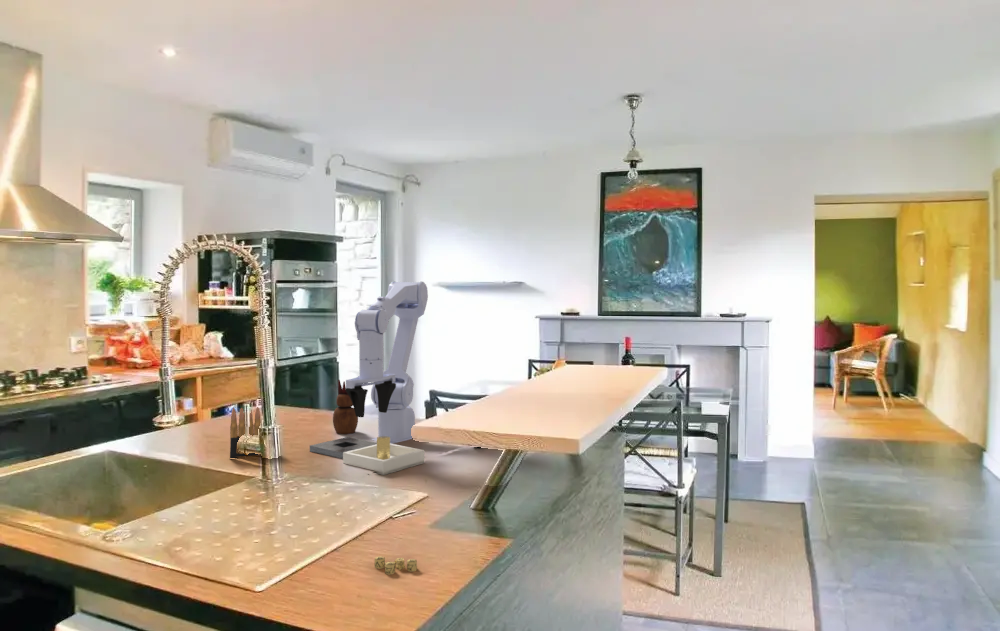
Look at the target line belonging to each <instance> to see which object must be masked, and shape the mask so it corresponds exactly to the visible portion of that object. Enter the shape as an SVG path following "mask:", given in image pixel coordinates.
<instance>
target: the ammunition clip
mask: <svg viewBox="0 0 1000 631" xmlns="http://www.w3.org/2000/svg"><path fill="white" fill-rule="evenodd" d="M243 411H244V408H243V407H241V408H240V409H239V415H238V416H239V417H238V418H239V419H238V418H237V413H236V409H235V407H233V408H232V410H231V416H230V426H229V427H230V430H229V435H230V440H229V441H230V446H229V447H230V448H229V459H230V458H239V457H249V456H250V457H251V456H259V455H258V454H255V453H249V454H248V456H246V455H245V454H244V453H243V452H241V451H239V448H238V449H237V442H238V440H239V438H240V437H241V436H242V435H244V434H245V426H244V417H245V412H244V413H243ZM276 416H277V415H276V414H275V417H276ZM237 420H238V422H237ZM261 420H262V419H261V412H260V408H259V407H258V406H257V407H256V409H255V413H254V419H253V411H252V409H251V413H250V427H249V434H250V435H252V436H253V435H258V429H259V426H260V423H261V424H262V422H261Z"/></svg>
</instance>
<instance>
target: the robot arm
mask: <svg viewBox="0 0 1000 631" xmlns="http://www.w3.org/2000/svg"><path fill="white" fill-rule="evenodd" d="M428 298H429V293H428V287H427V284H426V283H425V282H424V281H420V282H419V281H417V282H416V281H413V282H412V281H394V280H393V281H391V282H390V284H388V288H387V294H386V295H385V296H378V297H377V298H376V300H375V301H374V302H373V303H372V304H371V305H369V307H367V309H361V310H360V311H357V312H356V315H355V318H354V319H355V320H354V328H355V331H356V339H357V340H358V341H359V342H358V343H359V351H358V352H359V353H358V354H359V357H358V358H359V361H358V362H359V367H358V369H359V374H358V375H357V377H353V378H349V379H345V387H346V392H347V393H348V395H349V397H350V399H351V401H352V404H353V406H352V407H353V408H354V410H355V414H356V417H358V418H364V417H365V408H366V406H365V405H366V397H367V394H368V392H369V390H368V389H365V388H364V387H367V386H371V391H370V398H371V402H372V403H373V404H374V405H375V408H377V412H378V413H377V415H378V418H377V419H378V420H377V423H378V433H377V434H378V436H377V437H381V436H387V437H390V443H391V444H397V443H401V442H405V441H409V440H412V436H411V428H412V426H413V425H415V426H416V415H415V411H414V409H413V408H412V406H410V405H411V403H412V402H413V398H414V385H415V383H414V380H413V378H412V376H410V375H409V374H408V373H407V369H408V365H409V360H410V355H411V351H412V347H413V345H414V344H413V342H414V338H415V334H416V330H417V327H418V322H419V318H420V317H422V316H423V315H424V314H425V311H426V308H427V302H428ZM394 316H396V317H398V318H399V321H398V324H397V325H398V326H397V328H396V333H395V337H394V341H393V345H392V348H391V353H390V358H389V361H388V365H387V369H385V370H384V333H386V332H387V328H388V324H389V322H390V320H391V319H392V317H394ZM377 437H375V438H371V440H372V441H375V442H377Z"/></svg>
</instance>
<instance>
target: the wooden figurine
mask: <svg viewBox="0 0 1000 631" xmlns="http://www.w3.org/2000/svg"><path fill="white" fill-rule="evenodd" d="M337 382H338V383H337V388H338V389H337V390H338V391H337V393H338V394H337V395H336V396H337V397H336V406H338V407H336V408H335V409H334V410H333V414H332V425H333V428H334V431H335V432H336V433H337V434H339V435H349V434H354V433H355V432H356V430H357V427H358V423H359V417H356V414H355V410H354V407H353V404H352V401H351V399H350V397H349V395H348V393H347V392H346V380H345V381H344V380H343V383H342V384H341V380H340V379H338V381H337Z"/></svg>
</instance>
